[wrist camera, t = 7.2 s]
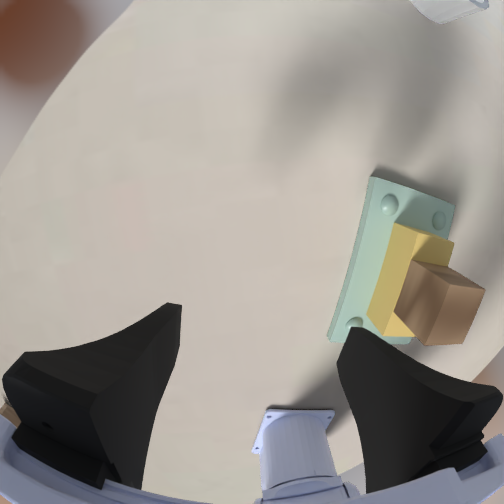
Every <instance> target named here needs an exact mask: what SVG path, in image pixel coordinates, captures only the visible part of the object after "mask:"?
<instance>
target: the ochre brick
mask: <svg viewBox="0 0 504 504" xmlns="http://www.w3.org/2000/svg"><path fill="white" fill-rule="evenodd" d="M453 247H454V243H453V242H451V241H449V240H447V239H444V238H442V237H440V236H437V235H435V234H432V233H430V232H427V231H423V230H420V229H416V228H413V227H409V226H405V225H402V224H398V223H394V224H393V228H392V232H391V236H390V240H389V243H388V247H387V251H386V254H385V258H384V261H383V264H382V268H381V271H380V274H379V277H378V281H377V284H376V287H375V290H374V293H373V296H372V299H371V301H370V304H369V307H368V310H367V313H366V315H367V316H368V318H369V319H370V320H371V322H372V323H373V324H374V325H375V327H376V328H377V329H378V331H379V332H380V333H381V335H382V336H394V337H416V336H415V335H414V334H413V332H412V331H411V330H410V329H409V328H408V327H407V326H406V325H405V324H404V323H403V322H402V321H401V319H400V318H399V317H398V316H397V315H396V314H395V313H394V312H393V311H394V308H395V306H396V303H397V300H398V298H399V295H400V292H401V289H402V286H403V283H404V280H405V277H406V274H407V271H408V268H409V264H410V261H411V260H416V261H422V262H427V263H432V264H436V265H441V266H446V267H448V264H449V261H450V257H451V254H452V250H453Z"/></svg>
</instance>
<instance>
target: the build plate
mask: <svg viewBox="0 0 504 504" xmlns="http://www.w3.org/2000/svg"><path fill="white" fill-rule="evenodd" d="M454 209H455V205H453V204H451V203H448V202H446V201H443V200H441V199H438V198H436V197H433V196H430V195H428V194H425V193H422V192H419V191H417V190H414V189H411V188H408V187H405V186H402V185H399V184H396V183H393V182H390V181H387V180H384V179H381V178H378V177H371V176H370V178H369V183H368V188H367V193H366V198H365V203H364V208H363V212H362V217H361V221H360V225H359V229H358V233H357V237H356V241H355V245H354V249H353V253H352V257H351V260H350V264H349V268H348V271H347V275H346V278H345V281H344V285H343V288H342V291H341V295H340V298H339V301H338V304H337V307H336V310H335V313H334V316H333V319H332V322H331V325H330V328H329V331H328V334H327V337H328V339H329V341H330V342H340V343H345V341H346V338H347V336H348V333H349V331H350V328H351V327H363V328H365V329H367V330H369V331H371V332H372V333H374V334H375V335H377V336H378V337H380V338H381V339H383V340H384V341H386V342H387V343H389V344H409V343H410V341H411V339H412V337H394V336H382V335H381V333H380V332H379V331H378V329H377V328H376V327H375V325H374V324H373V323H372V322H371V320H370V319H369V318H368V316H367V315H366V313H367V310H368V307H369V304H370V301H371V299H372V296H373V293H374V290H375V287H376V284H377V281H378V277H379V274H380V271H381V268H382V264H383V261H384V258H385V254H386V251H387V247H388V243H389V240H390V236H391V232H392V228H393V224H394V223H398V224H402V225H405V226H409V227H413V228H416V229H420V230H423V231H427V232H430V233H432V234H435V235H437V236H440V237H442V238H444V239H448V235H449V231H450V227H451V223H452V219H453V214H454Z"/></svg>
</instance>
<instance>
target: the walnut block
mask: <svg viewBox="0 0 504 504" xmlns="http://www.w3.org/2000/svg"><path fill="white" fill-rule="evenodd" d="M484 292H485V289H484V288H482V287H480V286H479V285H477V284H476V283H474V282H472V281H471V280H469V279H468V278H466V277H464V276H463V275H461V274H459V273H458V272H456V271H454V270H452V269H451V268H449V267H446V266H441V265H436V264H432V263H427V262H422V261H416V260H411V261H410V264H409V268H408V271H407V274H406V277H405V280H404V283H403V286H402V289H401V292H400V295H399V298H398V300H397V303H396V306H395V308H394V311H393V312H394V313H395V314H396V315H397V316H398V317H399V318H400V319H401V321H402V322H403V323H404V324H405V325H406V326H407V327H408V328H409V329H410V330H411V331H412V332H413V334H414V335H415V336H416V337H417V338H418V339H419V340H420V341H421V342H422V344H423V345H424V346H429V345H449V344H462V343H463V341H464V339H465V337H466V335H467V333H468V331H469V329H470V326H471V324H472V322H473V320H474V317H475V315H476V313H477V310H478V308H479V305H480V303H481V300H482V298H483V295H484Z"/></svg>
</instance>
